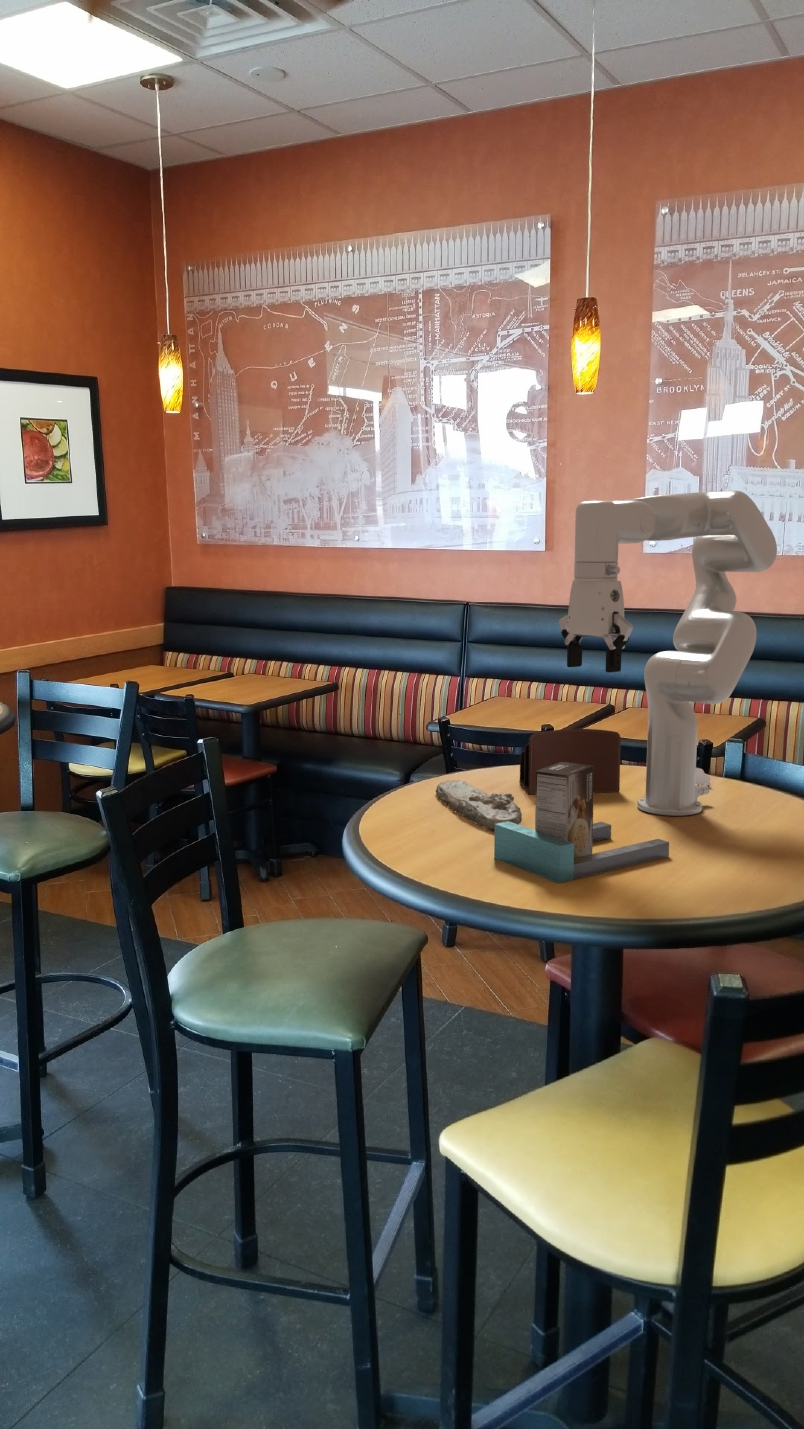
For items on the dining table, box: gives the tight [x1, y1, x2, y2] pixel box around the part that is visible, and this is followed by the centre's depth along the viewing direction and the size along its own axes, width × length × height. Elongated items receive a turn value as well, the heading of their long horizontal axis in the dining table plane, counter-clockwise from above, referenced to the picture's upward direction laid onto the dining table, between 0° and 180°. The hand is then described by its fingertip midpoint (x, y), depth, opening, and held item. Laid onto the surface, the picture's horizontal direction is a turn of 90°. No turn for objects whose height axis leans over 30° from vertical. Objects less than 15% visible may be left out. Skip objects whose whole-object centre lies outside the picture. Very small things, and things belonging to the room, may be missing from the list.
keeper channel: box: [493, 821, 670, 884], centre depth 175 cm, size 25×16×6 cm, turn 124°
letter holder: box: [518, 728, 622, 796], centre depth 224 cm, size 10×20×14 cm, turn 95°
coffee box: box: [534, 762, 594, 858], centre depth 172 cm, size 9×6×16 cm
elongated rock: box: [435, 779, 523, 830], centre depth 207 cm, size 35×5×10 cm
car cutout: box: [695, 767, 711, 787], centre depth 230 cm, size 15×7×4 cm, turn 52°
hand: (593, 669), depth 185 cm, fingers open, 9 cm apart
